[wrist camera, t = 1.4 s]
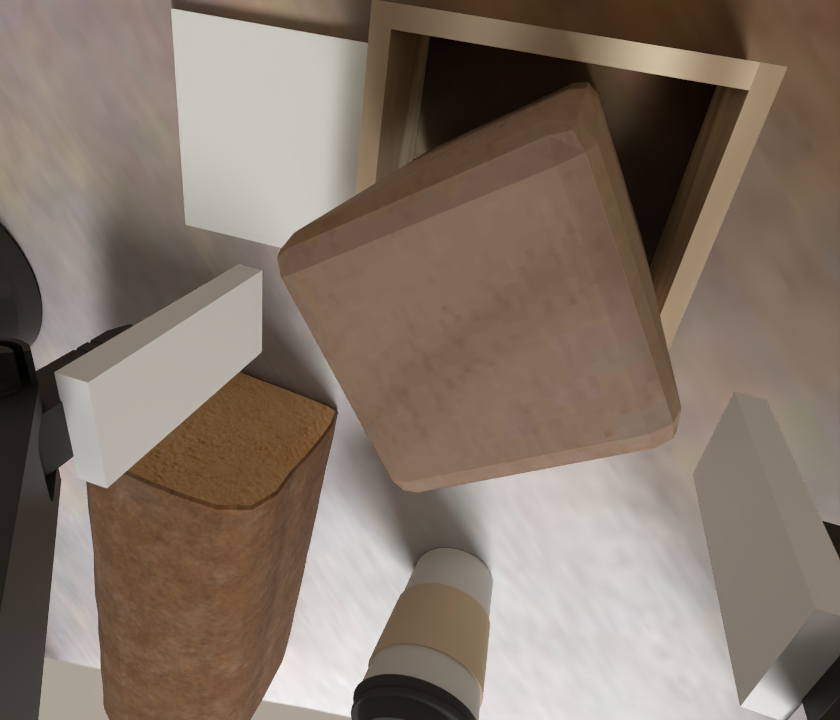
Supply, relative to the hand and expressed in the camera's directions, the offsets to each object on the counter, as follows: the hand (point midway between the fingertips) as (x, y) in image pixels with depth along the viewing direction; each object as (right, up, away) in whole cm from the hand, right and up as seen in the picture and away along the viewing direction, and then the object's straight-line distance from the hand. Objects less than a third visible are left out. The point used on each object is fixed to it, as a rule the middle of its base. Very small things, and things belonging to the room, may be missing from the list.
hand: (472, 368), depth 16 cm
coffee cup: (+1, -19, +34) cm, 39 cm away
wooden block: (+5, +10, +18) cm, 21 cm away
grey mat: (-11, +14, +20) cm, 27 cm away
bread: (-18, -15, +39) cm, 45 cm away
